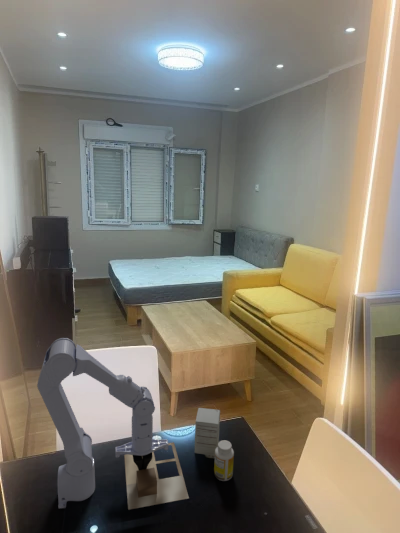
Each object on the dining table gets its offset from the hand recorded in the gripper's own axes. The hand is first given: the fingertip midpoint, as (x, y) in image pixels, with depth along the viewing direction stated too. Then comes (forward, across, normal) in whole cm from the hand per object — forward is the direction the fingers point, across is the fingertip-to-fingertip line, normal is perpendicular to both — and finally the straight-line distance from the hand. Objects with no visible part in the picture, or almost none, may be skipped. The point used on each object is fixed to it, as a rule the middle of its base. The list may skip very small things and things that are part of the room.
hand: (142, 473), depth 103 cm
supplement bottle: (+3, -24, +3) cm, 24 cm away
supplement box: (+3, -22, -8) cm, 23 cm away
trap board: (+2, -4, -1) cm, 4 cm away
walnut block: (+1, -1, +4) cm, 4 cm away
